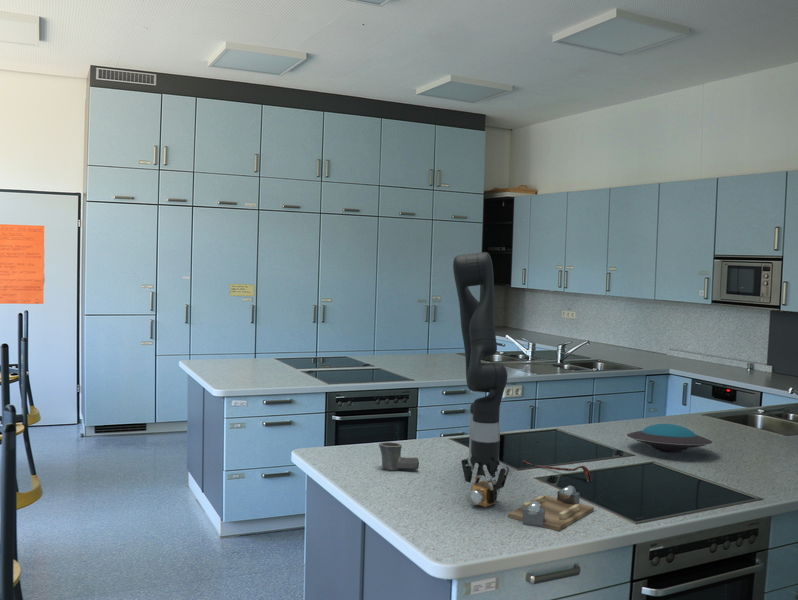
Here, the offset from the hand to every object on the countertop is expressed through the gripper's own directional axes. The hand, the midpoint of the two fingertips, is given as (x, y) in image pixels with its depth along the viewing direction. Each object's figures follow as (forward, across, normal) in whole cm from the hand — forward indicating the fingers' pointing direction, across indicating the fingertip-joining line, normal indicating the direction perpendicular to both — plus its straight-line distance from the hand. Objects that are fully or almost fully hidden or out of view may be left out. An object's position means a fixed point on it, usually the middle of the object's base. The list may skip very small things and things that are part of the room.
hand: (483, 500), depth 184 cm
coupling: (+1, 0, 0) cm, 1 cm away
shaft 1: (+1, -17, +4) cm, 17 cm away
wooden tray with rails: (+1, -17, -6) cm, 18 cm away
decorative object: (+2, -17, -95) cm, 96 cm away
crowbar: (+2, 0, -42) cm, 42 cm away
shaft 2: (+1, -17, -15) cm, 23 cm away
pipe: (+1, +37, -9) cm, 38 cm away
